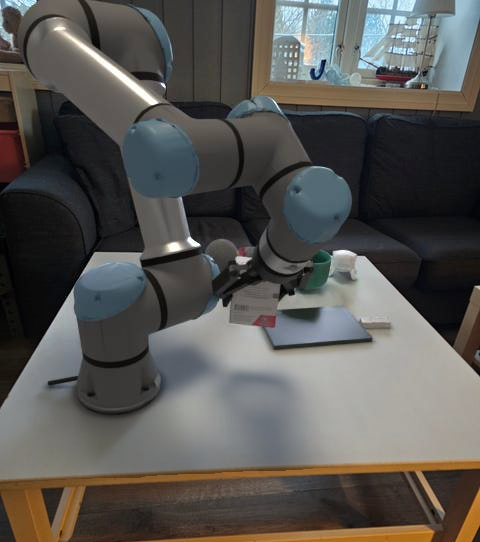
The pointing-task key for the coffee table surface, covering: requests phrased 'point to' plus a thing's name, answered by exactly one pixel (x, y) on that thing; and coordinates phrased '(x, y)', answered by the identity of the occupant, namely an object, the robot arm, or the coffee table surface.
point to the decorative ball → (221, 252)
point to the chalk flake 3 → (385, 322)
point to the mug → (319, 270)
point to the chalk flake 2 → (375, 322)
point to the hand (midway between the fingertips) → (249, 298)
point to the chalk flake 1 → (365, 322)
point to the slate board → (315, 328)
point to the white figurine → (343, 262)
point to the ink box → (255, 303)
